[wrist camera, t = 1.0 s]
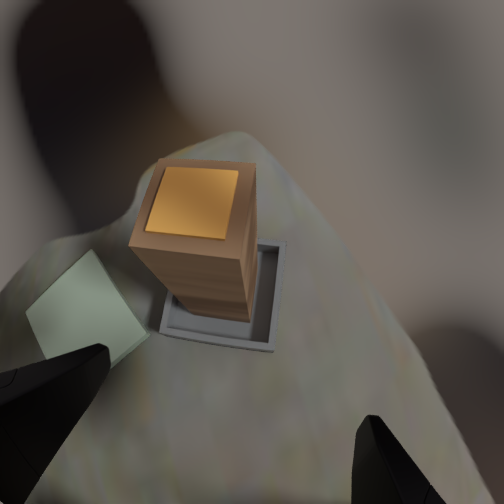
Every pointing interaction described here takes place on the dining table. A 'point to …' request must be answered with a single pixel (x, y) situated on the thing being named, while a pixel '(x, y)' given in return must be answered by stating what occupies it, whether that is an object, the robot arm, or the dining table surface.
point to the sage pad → (85, 313)
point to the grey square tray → (232, 332)
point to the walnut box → (202, 235)
